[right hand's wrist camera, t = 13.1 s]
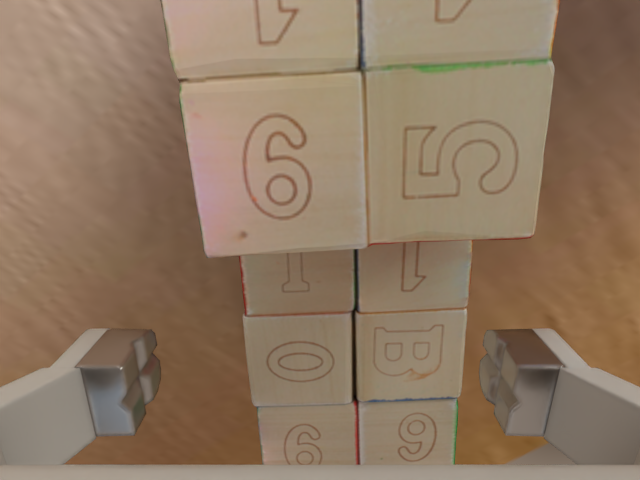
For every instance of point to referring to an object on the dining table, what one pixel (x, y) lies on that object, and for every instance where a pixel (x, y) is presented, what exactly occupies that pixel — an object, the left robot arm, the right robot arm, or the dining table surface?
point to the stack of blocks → (360, 199)
